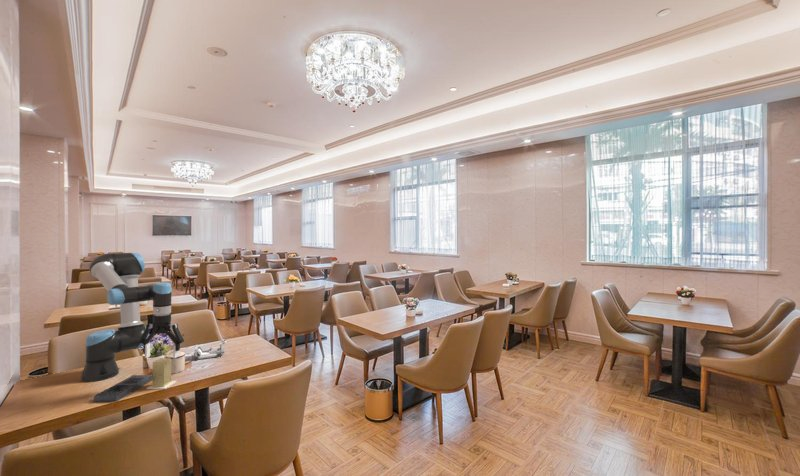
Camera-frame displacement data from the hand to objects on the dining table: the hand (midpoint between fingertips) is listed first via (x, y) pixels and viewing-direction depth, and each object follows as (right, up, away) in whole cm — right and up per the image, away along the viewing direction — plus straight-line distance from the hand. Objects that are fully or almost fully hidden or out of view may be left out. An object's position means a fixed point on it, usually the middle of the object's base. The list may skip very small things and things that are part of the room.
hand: (161, 357), depth 173 cm
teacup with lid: (-6, -14, +17) cm, 23 cm away
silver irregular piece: (+1, -15, +43) cm, 46 cm away
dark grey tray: (-13, -14, -6) cm, 20 cm away
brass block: (0, -13, 0) cm, 13 cm away
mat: (0, -14, 0) cm, 14 cm away
